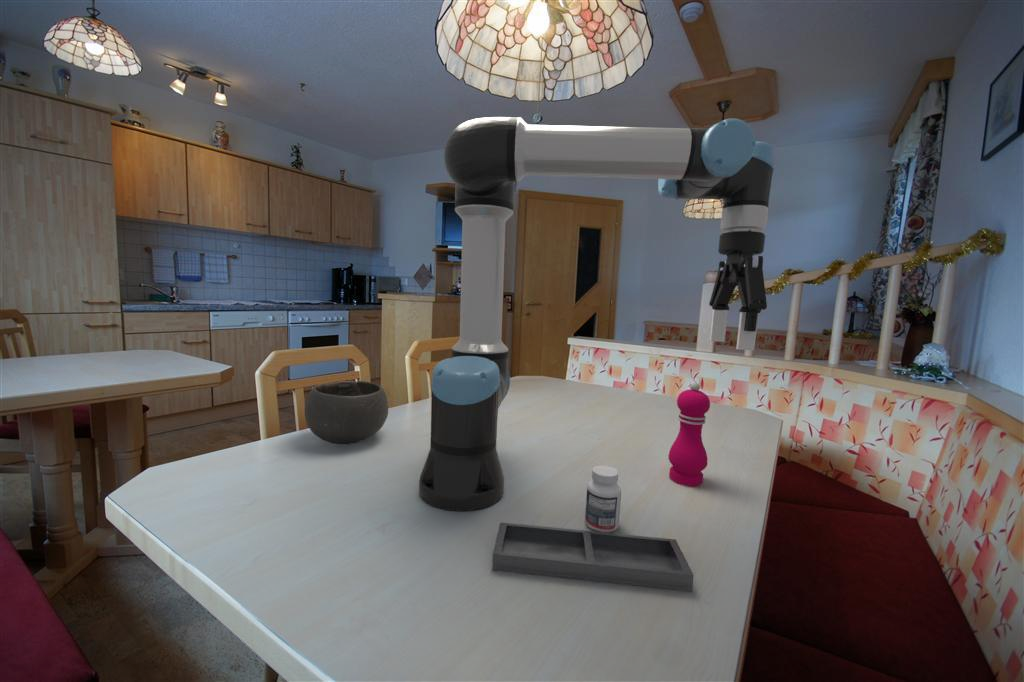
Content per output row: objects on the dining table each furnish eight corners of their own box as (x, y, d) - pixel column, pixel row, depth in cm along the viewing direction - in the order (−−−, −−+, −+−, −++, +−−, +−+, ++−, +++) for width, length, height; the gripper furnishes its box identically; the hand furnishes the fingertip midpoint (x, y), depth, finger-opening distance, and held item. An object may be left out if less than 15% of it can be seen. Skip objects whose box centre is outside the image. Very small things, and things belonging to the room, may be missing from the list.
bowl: (349, 423, 109) (349, 375, 108) (404, 436, 101) (405, 385, 100) (286, 444, 93) (285, 388, 92) (345, 461, 85) (345, 400, 84)
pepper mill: (709, 490, 80) (720, 387, 78) (669, 485, 82) (679, 384, 80) (700, 474, 87) (710, 380, 85) (664, 470, 89) (672, 377, 87)
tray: (492, 569, 54) (492, 553, 54) (499, 536, 62) (500, 522, 62) (691, 591, 52) (693, 575, 52) (674, 554, 60) (675, 539, 59)
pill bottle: (594, 511, 70) (598, 460, 69) (624, 523, 67) (628, 470, 66) (578, 524, 66) (582, 470, 65) (608, 537, 63) (613, 481, 62)
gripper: (801, 221, 66) (784, 355, 68) (736, 241, 90) (725, 339, 93) (750, 220, 67) (735, 352, 69) (699, 240, 91) (690, 337, 94)
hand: (729, 345), depth 81 cm, fingers open, 13 cm apart
